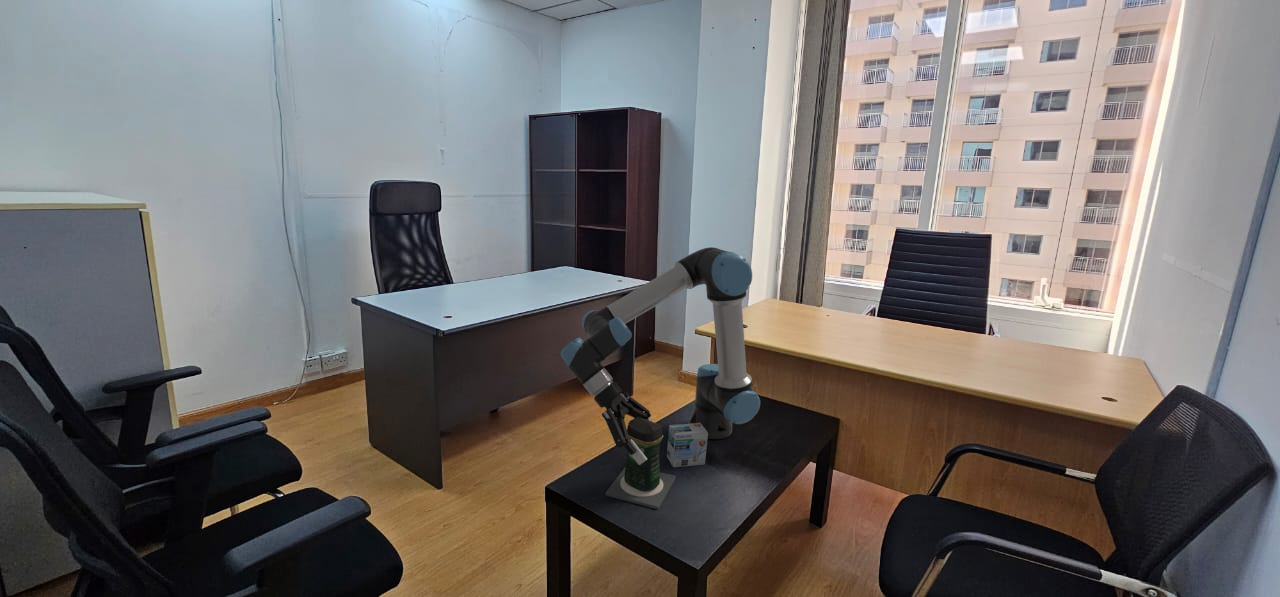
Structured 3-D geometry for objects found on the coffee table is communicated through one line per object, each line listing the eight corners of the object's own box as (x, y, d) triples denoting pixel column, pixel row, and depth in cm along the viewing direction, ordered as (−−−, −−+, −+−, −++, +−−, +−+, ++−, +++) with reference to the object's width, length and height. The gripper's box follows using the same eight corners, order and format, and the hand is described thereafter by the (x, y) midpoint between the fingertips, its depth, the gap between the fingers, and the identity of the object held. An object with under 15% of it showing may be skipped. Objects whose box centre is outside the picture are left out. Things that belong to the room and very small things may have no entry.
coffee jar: (664, 484, 147) (668, 422, 143) (646, 496, 141) (650, 432, 137) (637, 471, 153) (640, 411, 149) (619, 482, 147) (622, 420, 143)
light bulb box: (672, 468, 158) (675, 435, 155) (665, 456, 164) (668, 424, 162) (706, 464, 161) (709, 432, 158) (698, 453, 167) (700, 422, 165)
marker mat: (627, 466, 157) (627, 463, 157) (675, 478, 152) (675, 475, 152) (605, 495, 143) (605, 492, 142) (658, 509, 138) (658, 506, 137)
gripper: (612, 380, 159) (656, 437, 157) (573, 413, 136) (625, 479, 134) (629, 367, 156) (674, 424, 154) (593, 397, 133) (646, 465, 131)
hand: (651, 450), depth 144 cm, fingers open, 13 cm apart
